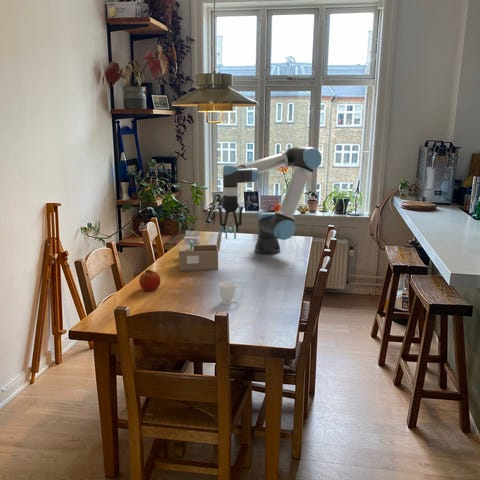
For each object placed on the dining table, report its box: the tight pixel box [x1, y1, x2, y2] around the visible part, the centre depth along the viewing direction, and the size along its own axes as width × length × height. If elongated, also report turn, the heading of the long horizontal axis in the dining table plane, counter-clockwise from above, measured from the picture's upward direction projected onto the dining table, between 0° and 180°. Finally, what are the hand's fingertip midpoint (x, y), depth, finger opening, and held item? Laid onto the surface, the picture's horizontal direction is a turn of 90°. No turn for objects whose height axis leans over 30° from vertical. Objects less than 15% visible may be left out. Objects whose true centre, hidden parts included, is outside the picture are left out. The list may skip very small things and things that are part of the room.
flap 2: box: [215, 226, 234, 252], centre depth 246 cm, size 11×14×7 cm
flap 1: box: [178, 240, 194, 253], centre depth 244 cm, size 8×14×5 cm, turn 7°
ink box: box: [183, 230, 201, 245], centre depth 265 cm, size 9×5×15 cm, turn 84°
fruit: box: [138, 269, 161, 292], centre depth 212 cm, size 10×10×10 cm
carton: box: [178, 244, 219, 272], centre depth 246 cm, size 20×14×10 cm
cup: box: [218, 281, 244, 305], centre depth 197 cm, size 7×10×8 cm
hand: (230, 238), depth 249 cm, fingers open, 4 cm apart
